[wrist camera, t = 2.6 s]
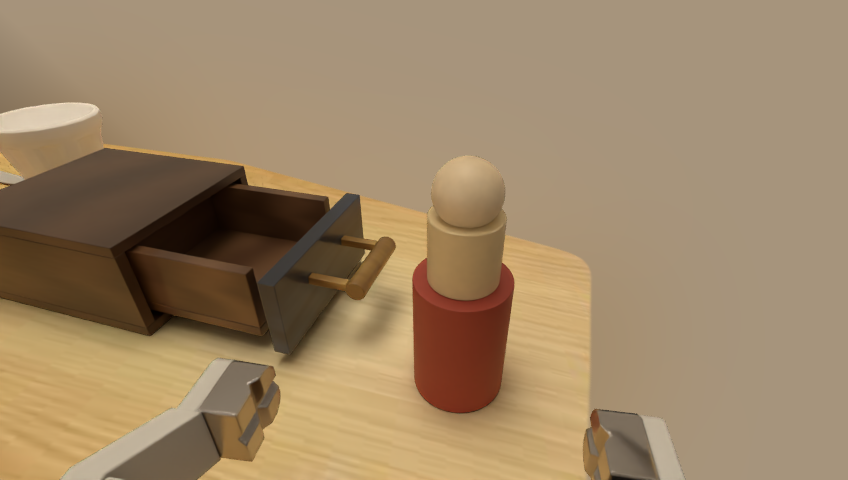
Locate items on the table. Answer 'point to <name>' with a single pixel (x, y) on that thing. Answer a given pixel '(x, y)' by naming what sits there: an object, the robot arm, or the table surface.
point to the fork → (10, 178)
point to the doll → (462, 289)
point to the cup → (49, 136)
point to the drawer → (258, 261)
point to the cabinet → (97, 231)
